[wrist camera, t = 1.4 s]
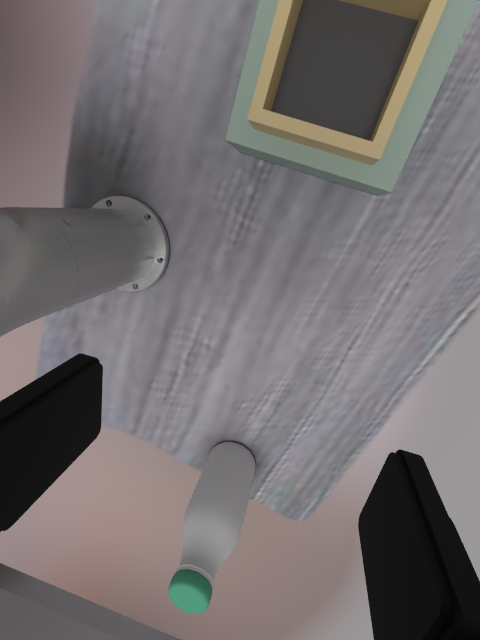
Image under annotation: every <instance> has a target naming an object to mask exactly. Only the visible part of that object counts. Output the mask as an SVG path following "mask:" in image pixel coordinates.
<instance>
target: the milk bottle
mask: <svg viewBox="0 0 480 640" xmlns="http://www.w3.org/2000/svg"><path fill="white" fill-rule="evenodd" d="M255 467H256V465H255V460H254V457H253V455H252V454H251V452H250V451H249V450H248V449H247V448H245V447H244V446H243V445H240V444H238V443H235V442H223V443H220V444H218V445H217V446H215V447H214V448H213V449H212V451H211V453H210V455H209V457H208V459H207V462H206V464H205V466H204V468H203V471H202V473H201V476H200V478H199V480H198V483H197V485H196V487H195V490H194V492H193V495H192V497H191V499H190V502H189V505H188V507H187V510H186V513H185V516H184V520H183V525H182V555H181V562H180V565H179V566H178V567H177V568H176V570H175V574H174V576H173V578H172V580H171V583H170V585H169V589H168V595H169V598H170V600H171V601H172V603H174V605H175V606H177V607H178V608H179V609H181V610H183V611H185V612H188V613H192V614H199V613H202V612H204V611H206V610H207V608H208V606H209V603H210V600H211V596H212V590H213V588H214V581H213V580H214V577H215V575H216V573H217V571H218V569H219V568H220V566H221V565H222V563H223V562H224V561H225V560H226V559H227V557H228V556H229V555H230V553H231V552H232V550H233V549H234V547H235V545H236V543H237V540H238V538H239V535H240V531H241V528H242V524H243V520H244V517H245V512H246V508H247V504H248V500H249V495H250V491H251V487H252V482H253V478H254V473H255Z"/></svg>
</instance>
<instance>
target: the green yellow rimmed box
mask: <svg viewBox="0 0 480 640" xmlns="http://www.w3.org/2000/svg"><path fill="white" fill-rule="evenodd" d="M478 3H479V0H259V3H258V8H257V12H256V16H255V20H254V24H253V28H252V32H251V36H250V40H249V44H248V48H247V52H246V56H245V60H244V64H243V68H242V73H241V77H240V81H239V85H238V89H237V93H236V97H235V101H234V105H233V109H232V113H231V117H230V121H229V125H228V129H227V133H226V137H225V140H226V141H227V142H228V143H229V144H231V145H232V146H233V147H234V148H236V149H237V150H238V151H239V152H241V153H243V154H247V155H250V156H253V157H256V158H259V159H262V160H266V161H269V162H272V163H275V164H278V165H281V166H285V167H288V168H291V169H294V170H297V171H300V172H303V173H307V174H310V175H313V176H316V177H319V178H322V179H326V180H329V181H332V182H335V183H338V184H341V185H344V186H348V187H351V188H354V189H357V190H360V191H363V192H367V193H370V194H373V195H376V196H378V195H382V194H387V193H391V192H392V191H393V188H394V186H395V184H396V182H397V180H398V177H399V175H400V173H401V171H402V169H403V167H404V164H405V162H406V160H407V158H408V156H409V153H410V151H411V149H412V147H413V145H414V142H415V140H416V138H417V136H418V134H419V132H420V129H421V127H422V125H423V123H424V121H425V118H426V116H427V114H428V112H429V110H430V108H431V105H432V103H433V101H434V99H435V97H436V94H437V92H438V90H439V88H440V86H441V83H442V81H443V79H444V77H445V75H446V73H447V70H448V68H449V66H450V64H451V62H452V59H453V57H454V55H455V53H456V51H457V49H458V46H459V44H460V42H461V40H462V38H463V35H464V33H465V31H466V29H467V27H468V24H469V22H470V20H471V18H472V16H473V14H474V11H475V9H476V7H477V5H478Z"/></svg>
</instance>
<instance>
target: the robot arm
mask: <svg viewBox="0 0 480 640" xmlns="http://www.w3.org/2000/svg"><path fill="white" fill-rule="evenodd" d="M149 216H151V219H150V218H149ZM161 258H162V259H163V261H162V259H161ZM168 260H169V241H168V237H167V233H166V230H165V228H164V226H163V224H162V222H161V221H160V219H159V218H158V216H157V215H156V214H155V213H154V212H153V210H152V209H151V208H150V207H148V206H147V205H145V204H144V203H143V202H141V201H139V200H137V199H134V198H131V197H127V196H109V197H106V198H104V199H101V200H100V201H98V202H97V203H95V204H94V205H93V206H92V207H91V208H20V207H6V208H0V337H1V336H2V335H5V334H6V333H8V332H10V331H12V330H14V329H16V328H18V327H20V326H22V325H24V324H27V323H29V322H31V321H34V320H36V319H39V318H41V317H43V316H46V315H49V314H51V313H54V312H56V311H59V310H62V309H64V308H67V307H70V306H72V305H75V304H77V303H80V302H82V301H85V300H87V299H90V298H93V297H95V296H98V295H100V294H103V293H105V292H108V291H110V290H113V289H116V290H120V291H123V292H138V291H141V290H144V289H147V288H149V287H151V286H152V285H154V284H155V283H156V282H157V281H158V280H159V279H160V278H161V277H162V275H163V274H164V272H165V269H166V267H167V264H168ZM102 375H103V367H102V365H101V364H100V363H99V360H98V359H97V358H95V357H92V356H88V355H85V354H78V355H76V356H74V357H73V358H71V359H69V360H68V361H66V362H64V363H63V364H61V365H60V366H58V367H56V368H55V369H53V370H51V371H50V372H48V373H46V374H45V375H43V376H41V377H40V378H38V379H36V380H35V381H33V382H32V383H30V384H28V385H27V386H25V387H23V388H22V389H20V390H18V391H17V392H15V393H13V394H12V395H10V396H9V397H7V398H5V399H3V400H2V401H0V532H1V531H5V530H7V529H9V528H10V527H11V526H12V525H13V524H14V523H15V522H16V521H17V520H18V519H19V518H20V517H21V516H22V515H23V514H24V513H25V512H26V511H27V510H28V509H29V508H30V506H31V505H32V504H33V503H34V502H35V501H36V500H37V499H38V498H39V497H40V496H41V495H42V494H43V493H44V492H45V491H46V490H47V489H48V488H49V487H50V486H51V485H52V484H53V483H54V482H55V480H56V479H57V478H58V477H59V476H60V475H61V474H62V473H63V472H64V471H65V470H66V469H67V468H68V467H69V466H70V465H71V464H72V463H73V462H74V461H75V460H76V459H77V457H78V456H79V455H80V454H81V453H82V452H83V451H84V450H85V449H86V448H87V447H88V446H89V445H90V444H91V443H92V442H93V441H94V440H95V439H96V438H97V436H98V434H99V432H100V429H101V410H102ZM358 527H359V535H360V543H361V550H362V556H363V564H364V571H365V577H366V585H367V592H368V600H369V607H370V613H371V620H372V628H373V635H374V640H480V581H479V579H478V577H477V575H476V573H475V570H474V568H473V566H472V563H471V561H470V559H469V557H468V554H467V552H466V550H465V548H464V545H463V543H462V541H461V539H460V537H459V534H458V532H457V530H456V528H455V525H454V524H453V522H452V520H451V518H449V516H448V514H447V512H446V509H445V507H444V505H443V502H442V500H441V498H440V496H439V494H438V491H437V489H436V487H435V484H434V482H433V480H432V478H431V475H430V473H429V471H428V468H427V466H426V464H425V462H424V459H423V458H422V457H421V456H420V455H417V454H413V453H410V452H407V451H403V450H398V451H397V452H396V453H393V452H392V453H390V454H389V455H388V457H387V460H386V461H385V464H384V466H383V468H382V470H381V472H380V474H379V476H378V478H377V480H376V482H375V484H374V487H373V489H372V491H371V493H370V495H369V497H368V499H367V501H366V503H365V505H364V507H363V510H362V512H361V514H360V517H359V525H358ZM0 640H181V639H178V638H176V637H174V636H171V635H169V634H167V633H164V632H162V631H160V630H157V629H155V628H152V627H150V626H148V625H146V624H143V623H141V622H138V621H136V620H134V619H132V618H129V617H127V616H124V615H122V614H119V613H117V612H115V611H113V610H110V609H108V608H106V607H103V606H101V605H99V604H96V603H94V602H91V601H89V600H87V599H84V598H82V597H80V596H77V595H75V594H73V593H70V592H68V591H65V590H63V589H61V588H58V587H56V586H54V585H51V584H49V583H46V582H44V581H41V580H39V579H37V578H34V577H32V576H30V575H27V574H25V573H22V572H20V571H18V570H15V569H13V568H10V567H8V566H5V565H3V564H1V563H0Z"/></svg>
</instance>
